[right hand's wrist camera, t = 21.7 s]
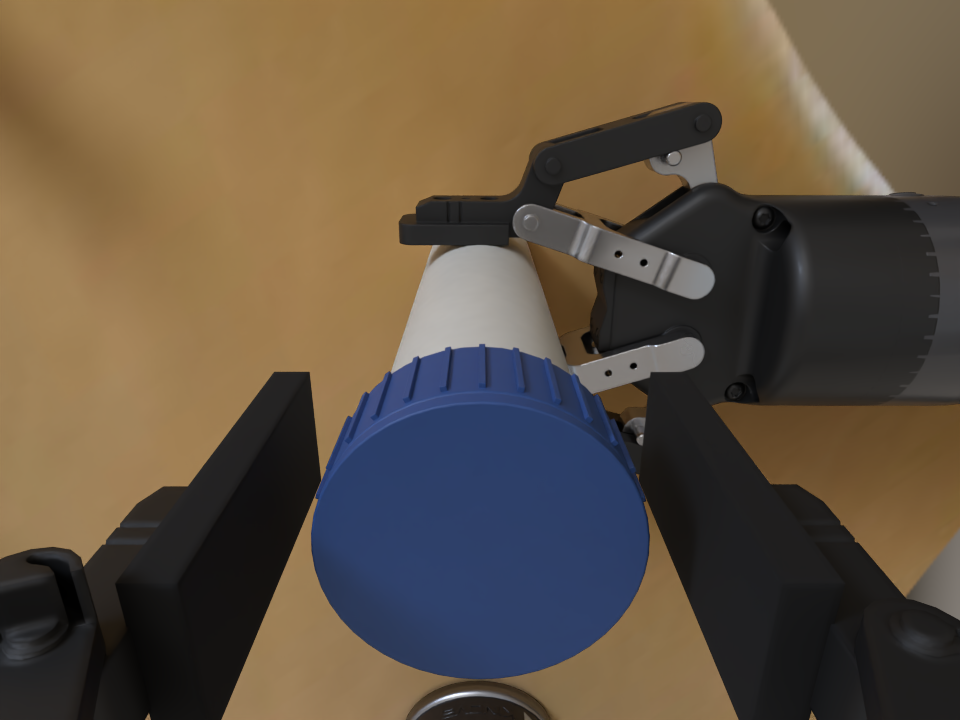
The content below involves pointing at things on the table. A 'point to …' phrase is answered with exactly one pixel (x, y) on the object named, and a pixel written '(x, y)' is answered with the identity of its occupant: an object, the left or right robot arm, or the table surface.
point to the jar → (480, 304)
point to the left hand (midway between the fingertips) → (406, 300)
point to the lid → (480, 516)
